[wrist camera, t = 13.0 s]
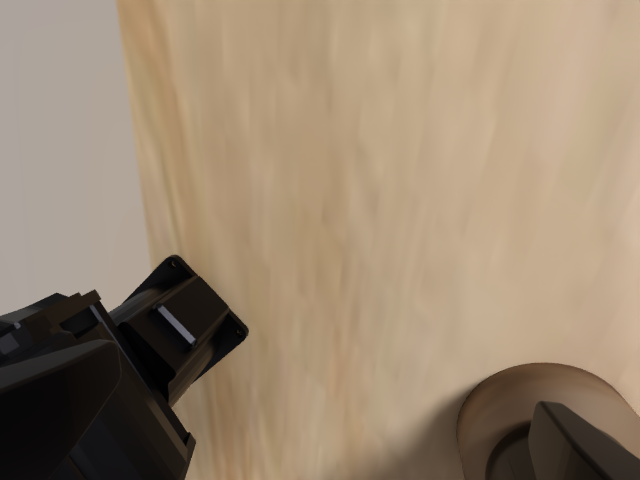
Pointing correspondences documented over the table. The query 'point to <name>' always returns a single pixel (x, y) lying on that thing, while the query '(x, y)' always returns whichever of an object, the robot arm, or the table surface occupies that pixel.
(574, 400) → the walnut stand
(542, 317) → the table surface
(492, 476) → the supplement bottle
